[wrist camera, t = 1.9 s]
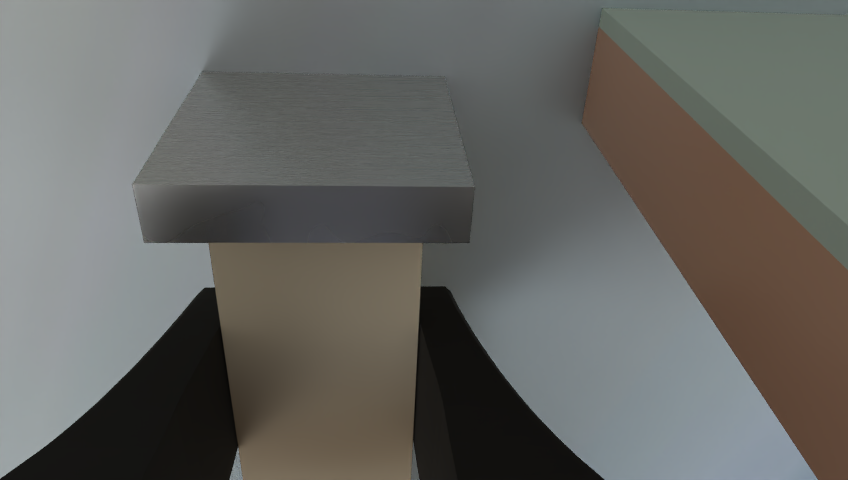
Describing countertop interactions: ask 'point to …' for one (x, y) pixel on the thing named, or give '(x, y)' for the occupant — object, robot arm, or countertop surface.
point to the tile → (744, 188)
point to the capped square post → (314, 253)
